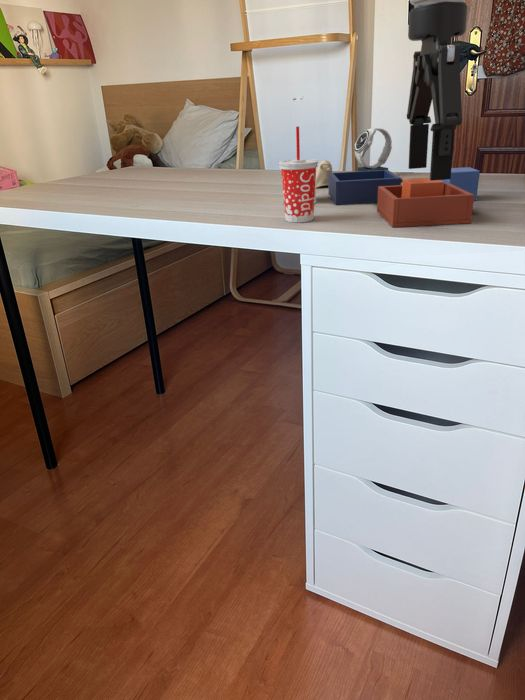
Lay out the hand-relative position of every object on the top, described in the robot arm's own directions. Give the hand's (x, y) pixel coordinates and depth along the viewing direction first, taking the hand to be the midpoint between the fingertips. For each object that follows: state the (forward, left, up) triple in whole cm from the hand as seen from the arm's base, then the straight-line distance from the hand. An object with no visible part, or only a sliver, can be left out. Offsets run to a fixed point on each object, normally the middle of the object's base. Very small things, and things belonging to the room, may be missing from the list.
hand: (427, 173), depth 80 cm
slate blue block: (-9, -13, -7) cm, 17 cm away
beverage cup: (+20, -3, -7) cm, 21 cm away
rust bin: (+1, 0, -7) cm, 7 cm away
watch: (+2, -36, -7) cm, 37 cm away
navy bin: (+7, -19, -7) cm, 21 cm away
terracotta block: (+1, 0, -6) cm, 6 cm away
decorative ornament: (+13, -35, -7) cm, 38 cm away
